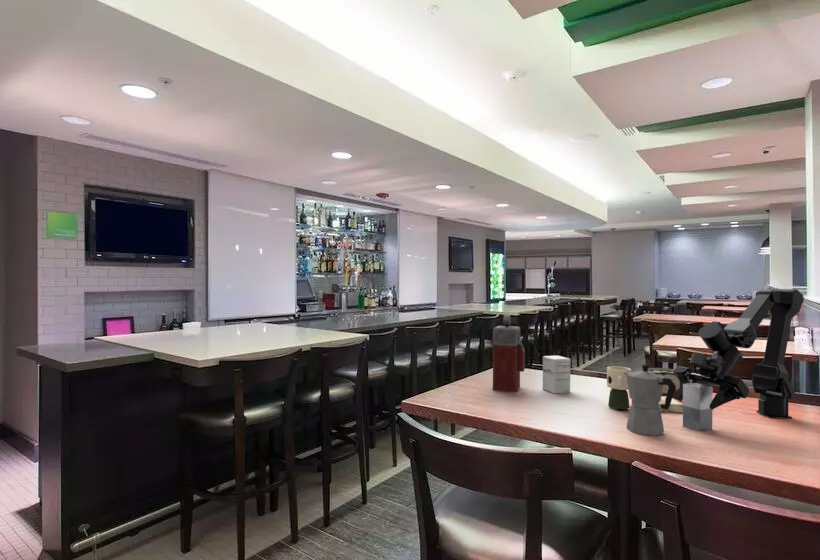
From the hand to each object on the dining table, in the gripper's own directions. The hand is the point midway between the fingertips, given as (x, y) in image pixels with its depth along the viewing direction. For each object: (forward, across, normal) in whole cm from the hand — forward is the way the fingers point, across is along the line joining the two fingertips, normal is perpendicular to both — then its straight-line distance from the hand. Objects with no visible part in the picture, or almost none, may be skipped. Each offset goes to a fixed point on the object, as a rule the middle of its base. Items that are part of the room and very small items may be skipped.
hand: (694, 404), depth 127 cm
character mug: (+8, -23, +2) cm, 24 cm away
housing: (+4, 0, +6) cm, 7 cm away
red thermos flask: (+20, -58, -10) cm, 62 cm away
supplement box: (+10, -49, 0) cm, 50 cm away
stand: (-2, -19, +12) cm, 23 cm away
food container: (-11, -28, +21) cm, 37 cm away
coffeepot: (+15, -3, -5) cm, 16 cm away
